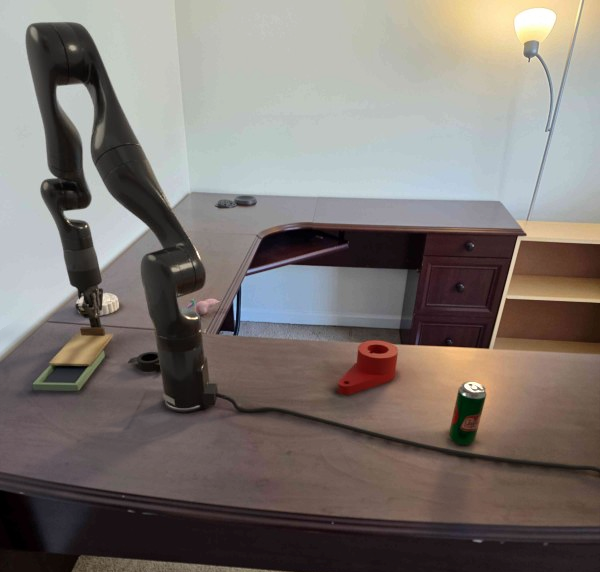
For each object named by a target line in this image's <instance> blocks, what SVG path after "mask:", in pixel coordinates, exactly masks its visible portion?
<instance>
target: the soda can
mask: <svg viewBox="0 0 600 572" xmlns="http://www.w3.org/2000/svg"><path fill="white" fill-rule="evenodd" d="M486 398H487V392H486V387H485V385H484V384H481V383H480V382H476V381H465V382H462V384H461V386H460V387H459V388H458V390H457V394H456V398H455V404H454V409H453V412H452V417H451V418H452V419H451V421H450V427H449V431H448V437H449V439H450V440H451V441H452V442H453V443H454V444H456V445H459V446H469V445H472V444H473V443H475V441H476V437H477V434H478V430H479V426H480V423H481V418H482V413H483V411H484V410H483V409H484V407H485V403H486Z"/></svg>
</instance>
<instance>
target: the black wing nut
mask: <svg viewBox="0 0 600 572" xmlns="http://www.w3.org/2000/svg"><path fill="white" fill-rule="evenodd" d="M127 364H134V365H137V366H138V370H139V371H140V372H143V373H144V372H145V373H152V372H155V373H158V372H161V369H160V363H159V356H158V351H157V352H156V351H147V352H146V351H145V352H143V353H141V354H139V355H137V356H135V357H132V358H130V359H128V361H127Z"/></svg>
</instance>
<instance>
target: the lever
mask: <svg viewBox="0 0 600 572" xmlns="http://www.w3.org/2000/svg"><path fill="white" fill-rule="evenodd" d="M356 355H357V357H356V362H355V363H354V364H353V366H351V368H349V369H348V371H346V373H344V374H343V376H342V377H341V378H339V380H338V381H337V392H338V394H339V395H343V396H349V395H352V394H355V393H359V392H362V391H364V390H368V389H371V388H374V387H376V386H380V385H383V384H386V383H389V382H391V381H393V380H394V379H395V377H396V371H397V362H398V355H399V349H398V347H397V346H396V345H394V344H393V343H391V342H388V341H384V340H376V339H375V340H367V341H363V342H361V343H360V344H359V345H358V347H357V354H356Z"/></svg>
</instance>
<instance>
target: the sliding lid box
mask: <svg viewBox="0 0 600 572" xmlns="http://www.w3.org/2000/svg"><path fill="white" fill-rule="evenodd" d="M105 357H106V356H105V350H104V349H103V350H102V351H101V352H100V353H99V355H98V356H97V357H96V358H95V360H94V361H93V362H92V364H91V365H90V366H88V367H87V369H86V370H85V371H84V372H83V374H82V375H81V376H80V377H79V379H78V380H77V381H76V383H44V381H45V380H46V379H47V378H48V377H49V376H50V375H51V374H52V373H53V371H54V370H55V369H56V368H57V367H58V366H59V365H49V366H48V367H47V368H46V369H44V371H43V372H42V373H41V374H40V375H39V376H38V378H36V379H35V381H34V382H33V383H32V387H33V391H59V392H61V391H62V392H63V391H67V392H68V391H69V392H70V391H72V392H74V391H75V392H78V391H80V390H81V389H82V387H83V386H84V385H85V383H86V382H87V381H88V380H89V378H90V377H91V376H92V374H93V372H94V371H95V370H96V369H97V367H98V366H99V365H100V363H101V362H102V361H103V359H105Z"/></svg>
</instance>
